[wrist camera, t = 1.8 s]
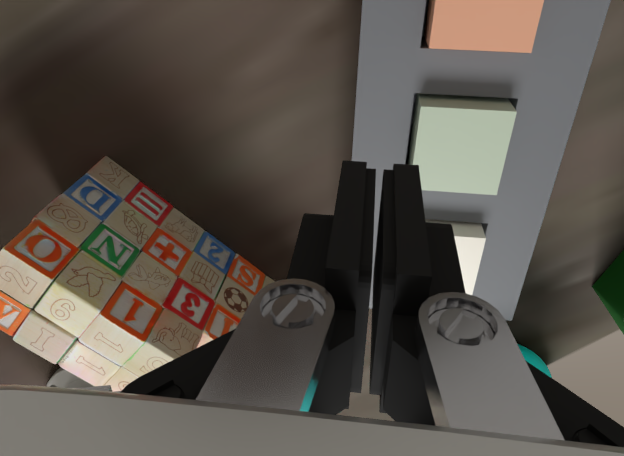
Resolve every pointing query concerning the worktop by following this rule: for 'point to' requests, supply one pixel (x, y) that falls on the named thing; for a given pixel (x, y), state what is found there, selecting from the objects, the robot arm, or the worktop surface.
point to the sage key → (461, 142)
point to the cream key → (467, 249)
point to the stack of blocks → (119, 281)
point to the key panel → (483, 83)
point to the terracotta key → (483, 24)
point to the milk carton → (613, 290)
